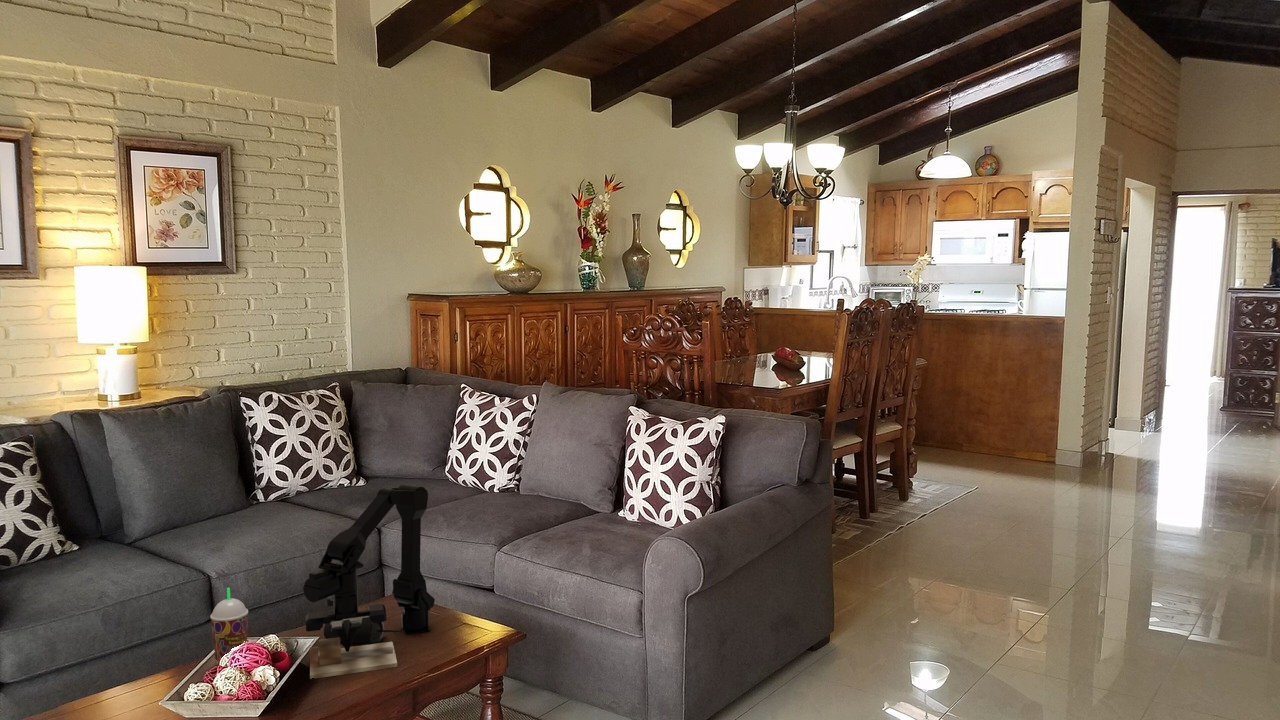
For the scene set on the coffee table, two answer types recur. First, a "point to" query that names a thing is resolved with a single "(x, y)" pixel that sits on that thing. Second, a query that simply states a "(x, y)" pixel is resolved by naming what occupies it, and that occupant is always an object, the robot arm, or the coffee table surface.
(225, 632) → the smoothie
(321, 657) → the block
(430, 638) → the coffee table surface
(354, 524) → the robot arm
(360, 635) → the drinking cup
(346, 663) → the board
